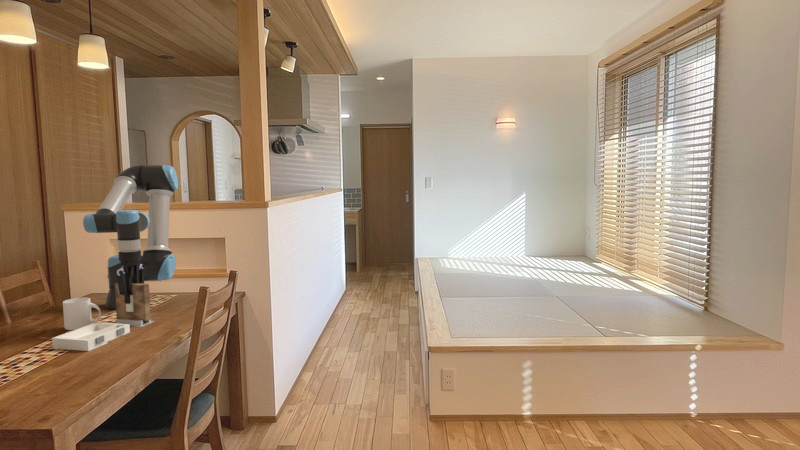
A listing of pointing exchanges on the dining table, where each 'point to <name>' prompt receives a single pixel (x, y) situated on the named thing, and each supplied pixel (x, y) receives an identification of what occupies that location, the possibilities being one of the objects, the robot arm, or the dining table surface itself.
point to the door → (139, 301)
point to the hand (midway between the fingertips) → (133, 310)
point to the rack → (133, 322)
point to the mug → (78, 313)
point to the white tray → (90, 336)
